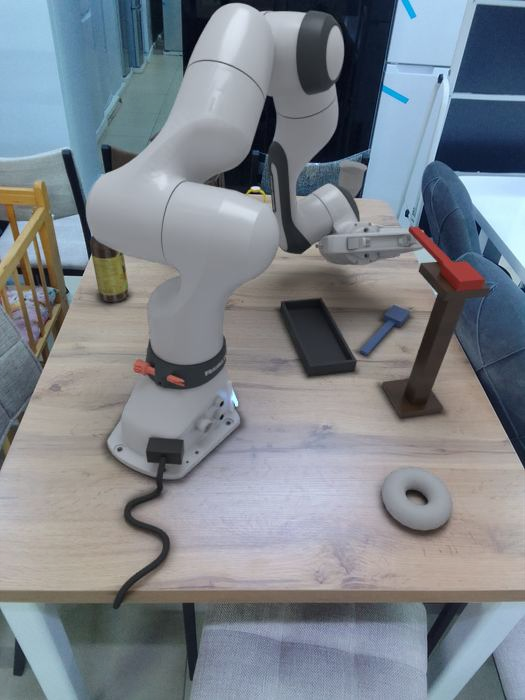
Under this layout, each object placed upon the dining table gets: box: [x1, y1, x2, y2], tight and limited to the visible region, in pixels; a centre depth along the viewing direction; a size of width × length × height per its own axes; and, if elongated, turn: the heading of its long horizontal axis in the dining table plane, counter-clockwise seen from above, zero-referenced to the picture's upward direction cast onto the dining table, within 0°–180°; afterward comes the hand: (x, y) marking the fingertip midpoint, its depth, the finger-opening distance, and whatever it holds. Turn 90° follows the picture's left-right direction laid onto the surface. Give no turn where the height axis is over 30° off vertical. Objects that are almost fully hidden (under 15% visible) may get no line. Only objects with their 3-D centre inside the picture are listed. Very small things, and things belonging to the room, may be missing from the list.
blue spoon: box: [359, 304, 411, 357], centre depth 105 cm, size 18×4×2 cm, turn 144°
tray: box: [279, 297, 358, 377], centre depth 102 cm, size 21×9×2 cm, turn 13°
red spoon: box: [408, 226, 486, 291], centre depth 77 cm, size 18×4×2 cm, turn 13°
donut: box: [381, 466, 453, 531], centre depth 73 cm, size 10×4×10 cm
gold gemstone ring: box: [245, 185, 267, 203], centre depth 147 cm, size 6×3×6 cm, turn 85°
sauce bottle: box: [89, 234, 129, 303], centre depth 104 cm, size 6×6×20 cm
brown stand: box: [381, 259, 491, 419], centre depth 83 cm, size 8×8×26 cm
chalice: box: [337, 160, 368, 199], centre depth 135 cm, size 7×7×18 cm
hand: (390, 240), depth 92 cm, fingers open, 8 cm apart
